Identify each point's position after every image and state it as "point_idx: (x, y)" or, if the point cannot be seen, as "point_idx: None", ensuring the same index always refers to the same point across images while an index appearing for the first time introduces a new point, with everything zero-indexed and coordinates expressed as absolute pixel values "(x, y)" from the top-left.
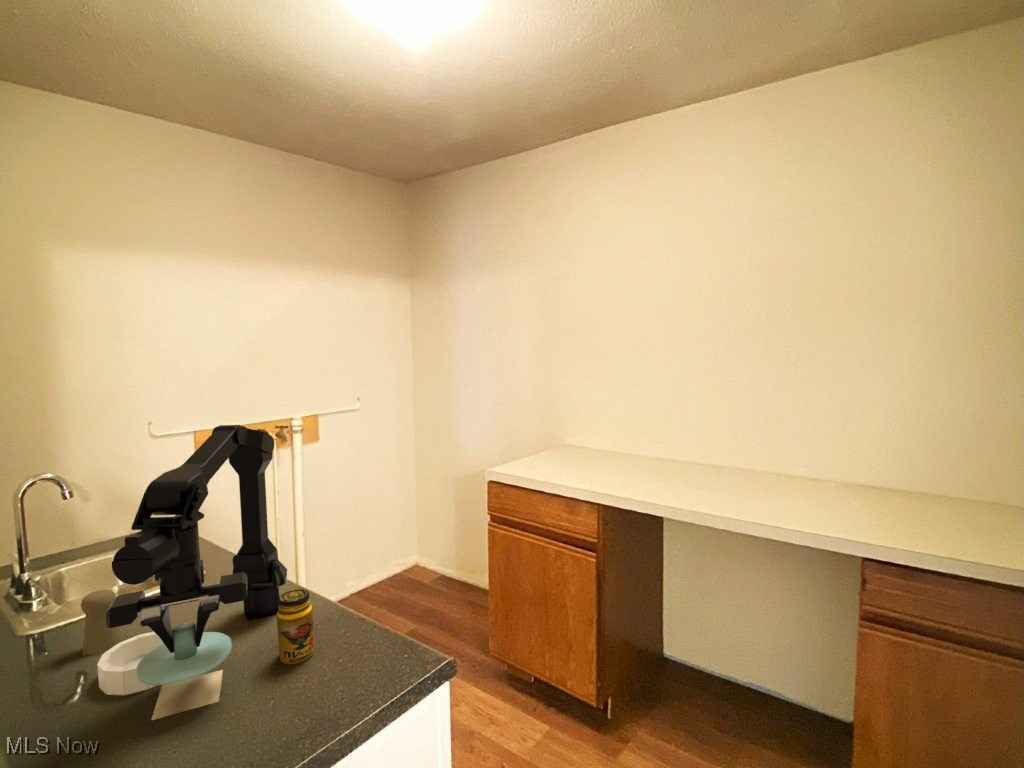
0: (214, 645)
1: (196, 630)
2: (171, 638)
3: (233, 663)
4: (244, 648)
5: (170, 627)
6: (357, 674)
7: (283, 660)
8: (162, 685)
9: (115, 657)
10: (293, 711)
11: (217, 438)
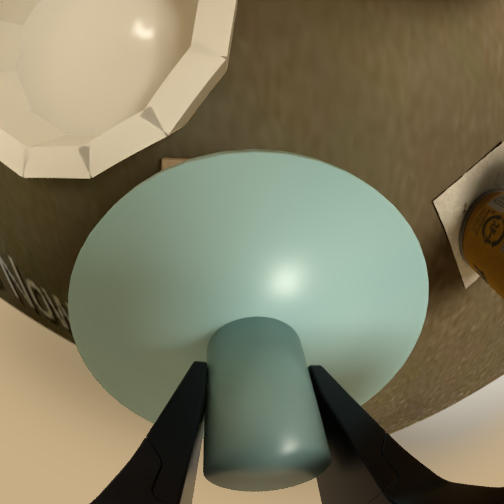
0: (365, 341)
1: (318, 486)
2: (199, 447)
3: (378, 144)
4: (418, 76)
5: (190, 476)
6: (496, 336)
7: (467, 256)
8: (163, 161)
9: (8, 3)
10: (400, 383)
11: None
